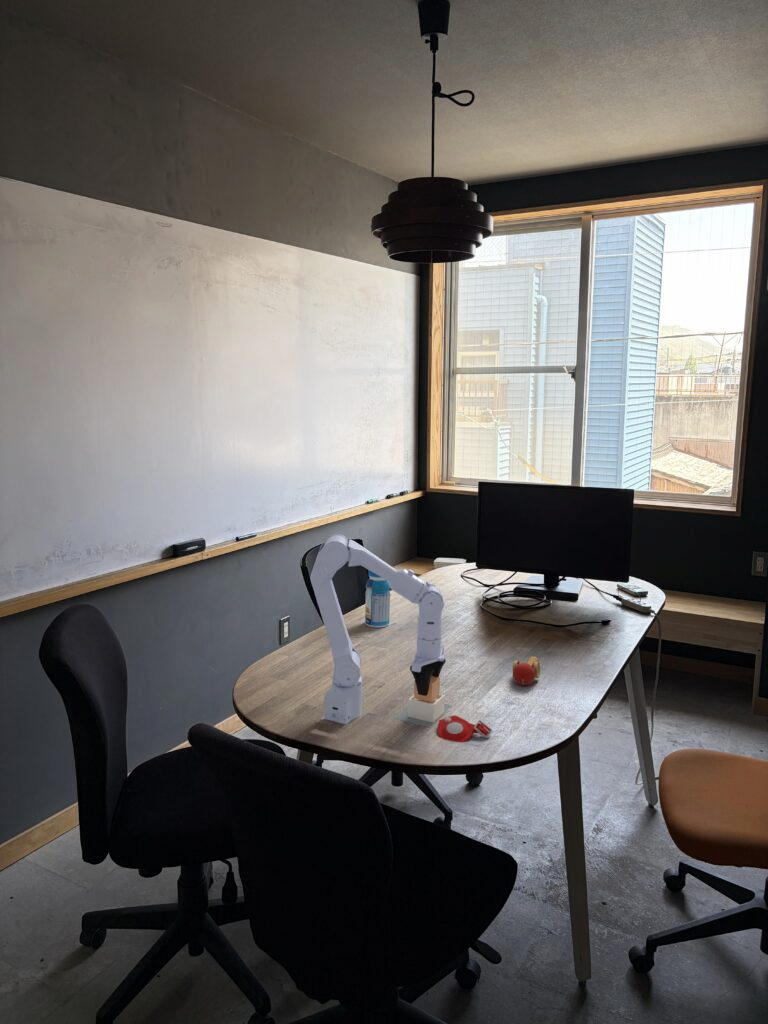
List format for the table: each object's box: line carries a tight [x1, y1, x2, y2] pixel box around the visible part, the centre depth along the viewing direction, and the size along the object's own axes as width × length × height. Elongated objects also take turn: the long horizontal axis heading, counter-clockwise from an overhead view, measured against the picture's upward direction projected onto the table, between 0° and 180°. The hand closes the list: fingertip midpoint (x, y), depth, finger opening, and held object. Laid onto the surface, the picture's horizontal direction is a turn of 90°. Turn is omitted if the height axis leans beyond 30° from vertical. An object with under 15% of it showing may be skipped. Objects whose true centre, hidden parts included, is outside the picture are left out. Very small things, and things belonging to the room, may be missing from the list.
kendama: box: [512, 656, 541, 686], centre depth 211 cm, size 8×6×18 cm
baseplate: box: [394, 703, 452, 728], centre depth 185 cm, size 14×9×1 cm, turn 153°
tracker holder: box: [437, 715, 493, 743], centre depth 175 cm, size 12×4×10 cm
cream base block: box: [407, 693, 446, 722], centre depth 183 cm, size 7×7×4 cm
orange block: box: [413, 676, 441, 702], centre depth 182 cm, size 5×5×4 cm
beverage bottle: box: [364, 569, 391, 629], centre depth 253 cm, size 8×8×20 cm
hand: (427, 690), depth 182 cm, fingers closed on orange block, 5 cm apart
